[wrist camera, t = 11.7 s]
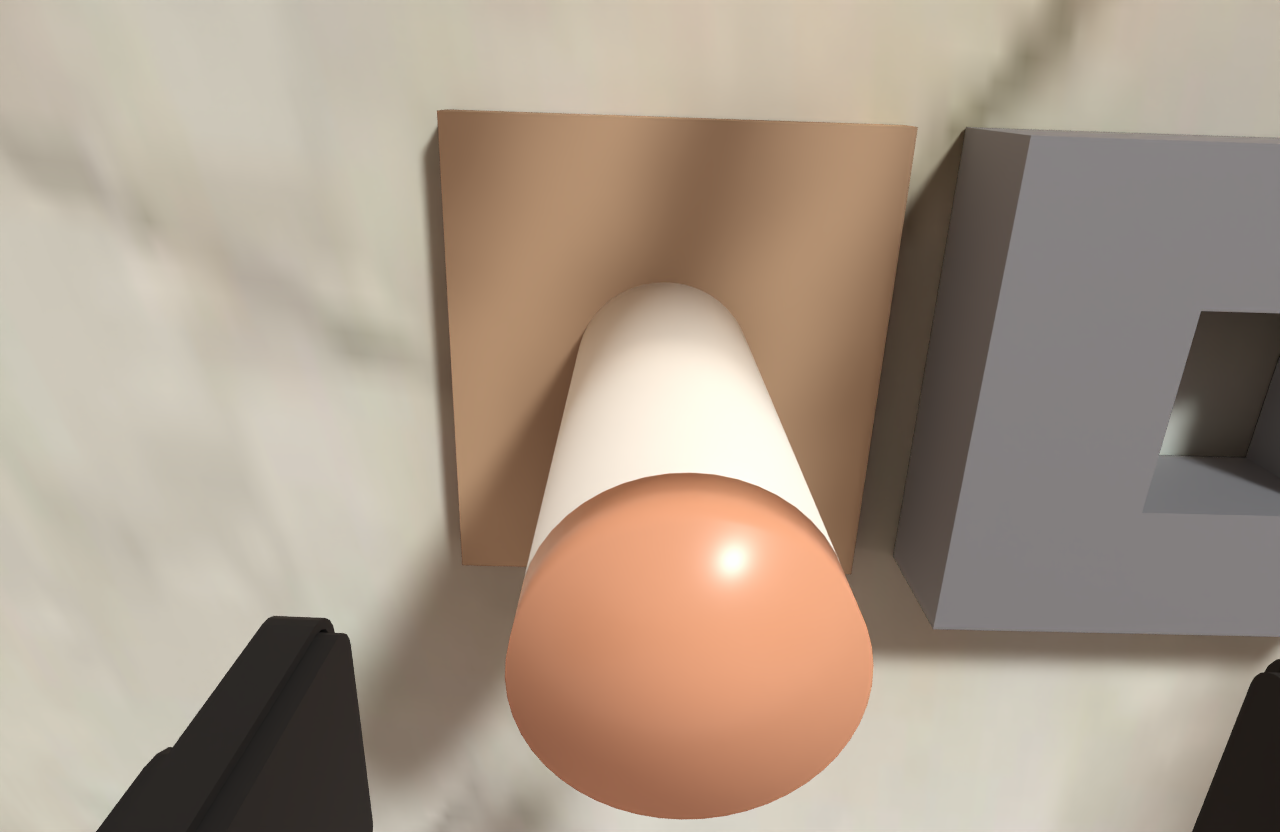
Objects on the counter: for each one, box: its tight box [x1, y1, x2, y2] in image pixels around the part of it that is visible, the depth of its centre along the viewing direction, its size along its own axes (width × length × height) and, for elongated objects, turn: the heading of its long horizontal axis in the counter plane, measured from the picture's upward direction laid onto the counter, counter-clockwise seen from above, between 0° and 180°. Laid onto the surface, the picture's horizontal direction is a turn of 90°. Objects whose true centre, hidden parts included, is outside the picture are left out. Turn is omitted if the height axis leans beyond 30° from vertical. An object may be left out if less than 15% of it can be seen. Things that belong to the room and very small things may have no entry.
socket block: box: [893, 127, 1280, 637], centre depth 21 cm, size 14×12×4 cm
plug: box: [505, 282, 873, 819], centre depth 15 cm, size 4×4×12 cm
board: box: [437, 110, 918, 574], centre depth 22 cm, size 11×12×1 cm
